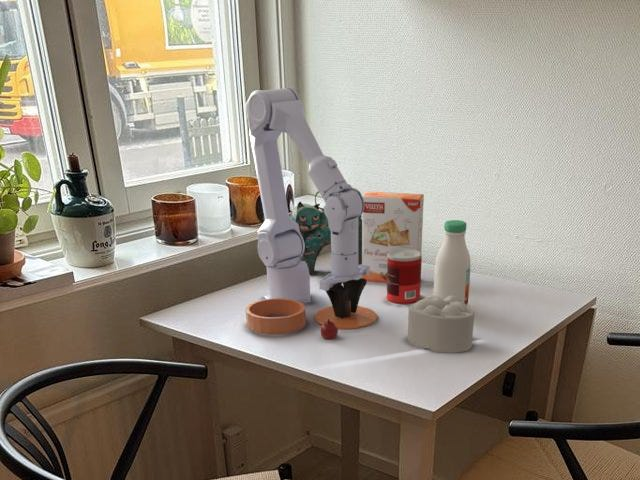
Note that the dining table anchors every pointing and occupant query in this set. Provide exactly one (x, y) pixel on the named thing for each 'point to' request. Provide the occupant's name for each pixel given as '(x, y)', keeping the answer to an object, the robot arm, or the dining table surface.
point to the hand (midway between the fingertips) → (345, 314)
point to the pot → (275, 324)
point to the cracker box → (389, 228)
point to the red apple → (329, 330)
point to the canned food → (403, 276)
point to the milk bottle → (453, 263)
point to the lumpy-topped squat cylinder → (441, 324)
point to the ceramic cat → (317, 232)
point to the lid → (347, 317)
